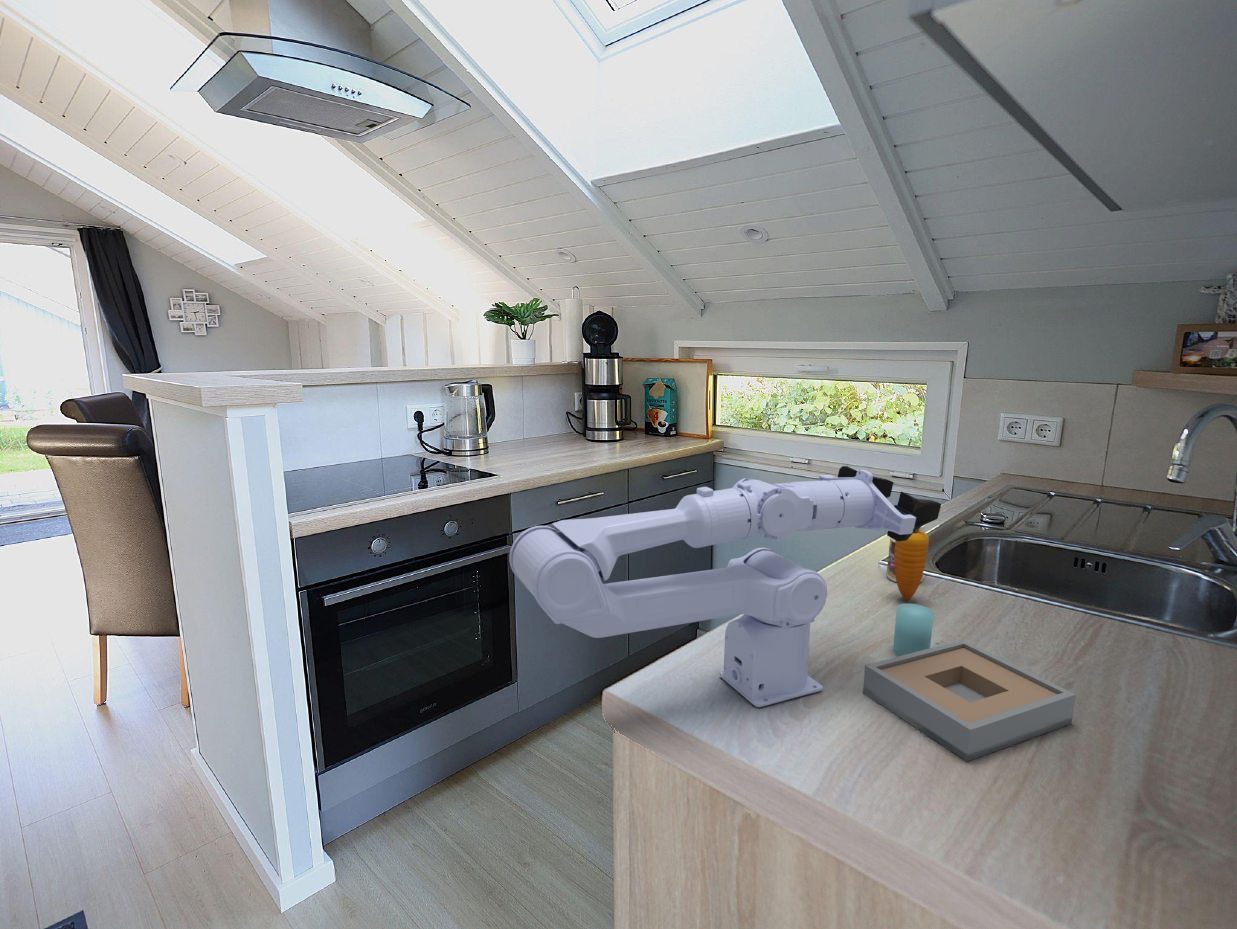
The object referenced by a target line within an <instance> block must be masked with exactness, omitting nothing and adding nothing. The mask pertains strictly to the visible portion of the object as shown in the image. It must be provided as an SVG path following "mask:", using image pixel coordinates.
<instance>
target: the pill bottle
mask: <svg viewBox="0 0 1237 929" xmlns="http://www.w3.org/2000/svg"><path fill="white" fill-rule="evenodd" d="M919 531H922V532H924V533H926V524H925V525H923V526H922V527H921V528H920V529H919ZM888 547H889V548H888V558H887V566H886V567H887V568H886V577H887V578H888V579H889V580H891V581H892V582H894V583H897V582H896V575H895V565H894V555H895V540H894V539H892V538H891V537H889V546H888ZM923 577H924V574H923V575H922V578H921V581H920V583H921V582H922V581H923Z"/></svg>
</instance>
